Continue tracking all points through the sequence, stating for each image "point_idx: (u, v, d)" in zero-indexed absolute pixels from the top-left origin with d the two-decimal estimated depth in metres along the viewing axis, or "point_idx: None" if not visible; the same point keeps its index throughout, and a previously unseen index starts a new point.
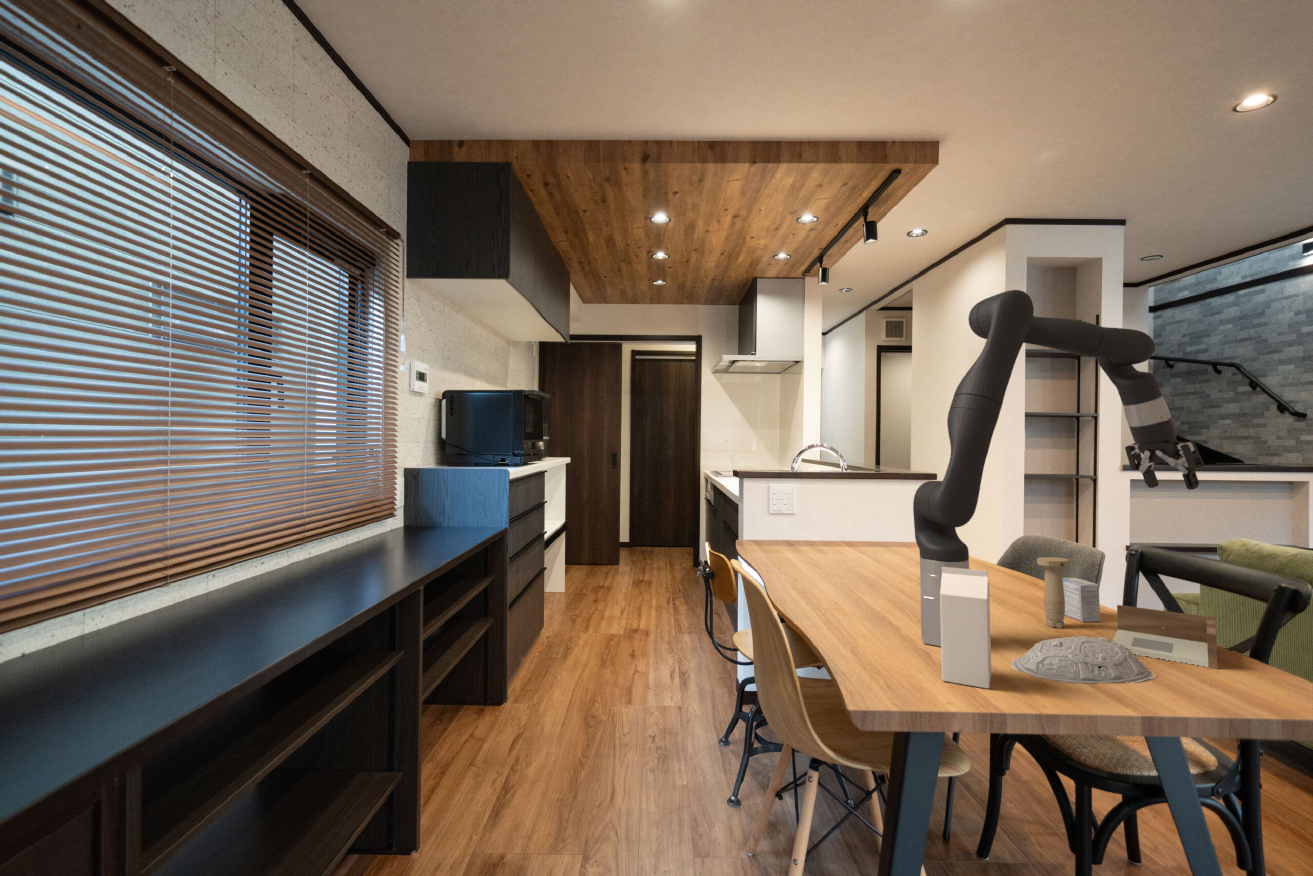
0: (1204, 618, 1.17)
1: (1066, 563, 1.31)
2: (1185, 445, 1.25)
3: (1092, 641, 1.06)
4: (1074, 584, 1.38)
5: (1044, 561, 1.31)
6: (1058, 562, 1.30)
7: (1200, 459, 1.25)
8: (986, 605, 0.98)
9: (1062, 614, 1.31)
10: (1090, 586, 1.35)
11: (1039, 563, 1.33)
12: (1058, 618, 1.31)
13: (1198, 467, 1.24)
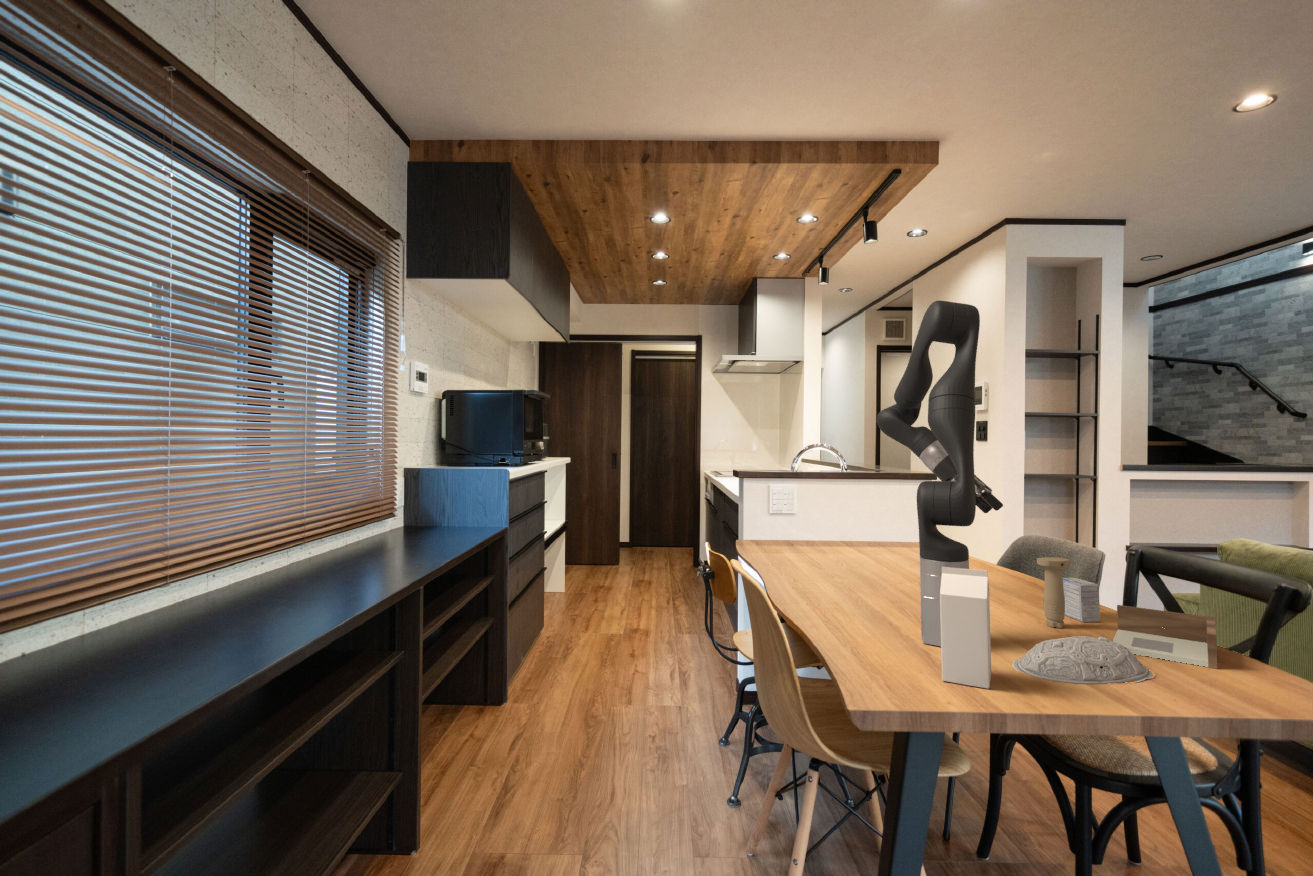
0: (1204, 618, 1.17)
1: (1066, 563, 1.31)
2: None
3: (1092, 641, 1.06)
4: (1074, 584, 1.38)
5: (1044, 561, 1.31)
6: (1058, 562, 1.30)
7: None
8: (986, 605, 0.98)
9: (1062, 614, 1.31)
10: (1090, 586, 1.35)
11: (1039, 563, 1.33)
12: (1058, 618, 1.31)
13: None
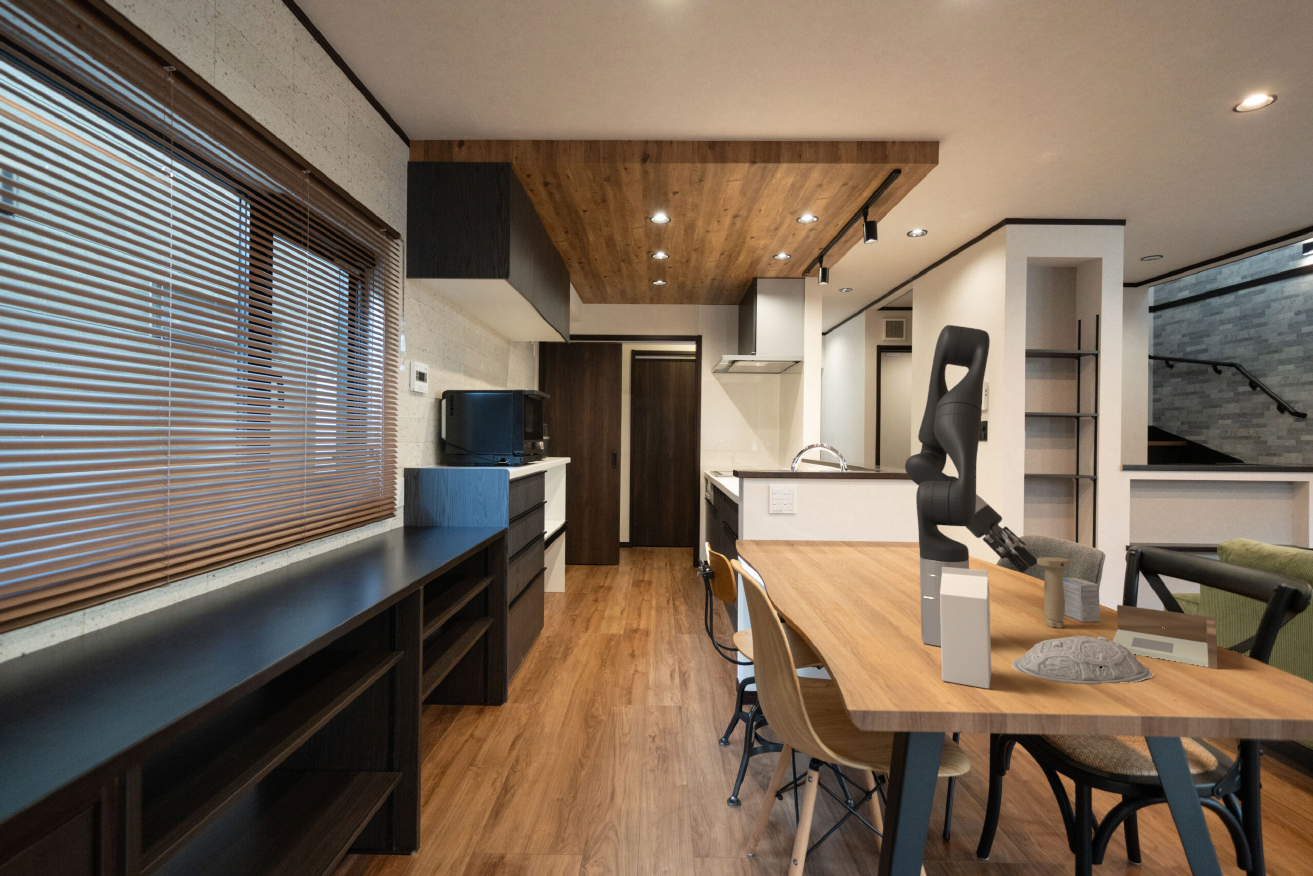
0: (1204, 618, 1.17)
1: (1066, 563, 1.31)
2: None
3: (1092, 641, 1.06)
4: (1074, 584, 1.38)
5: (1044, 561, 1.31)
6: (1058, 562, 1.30)
7: None
8: (986, 605, 0.98)
9: (1062, 614, 1.31)
10: (1090, 586, 1.35)
11: (1039, 563, 1.33)
12: (1058, 618, 1.31)
13: None
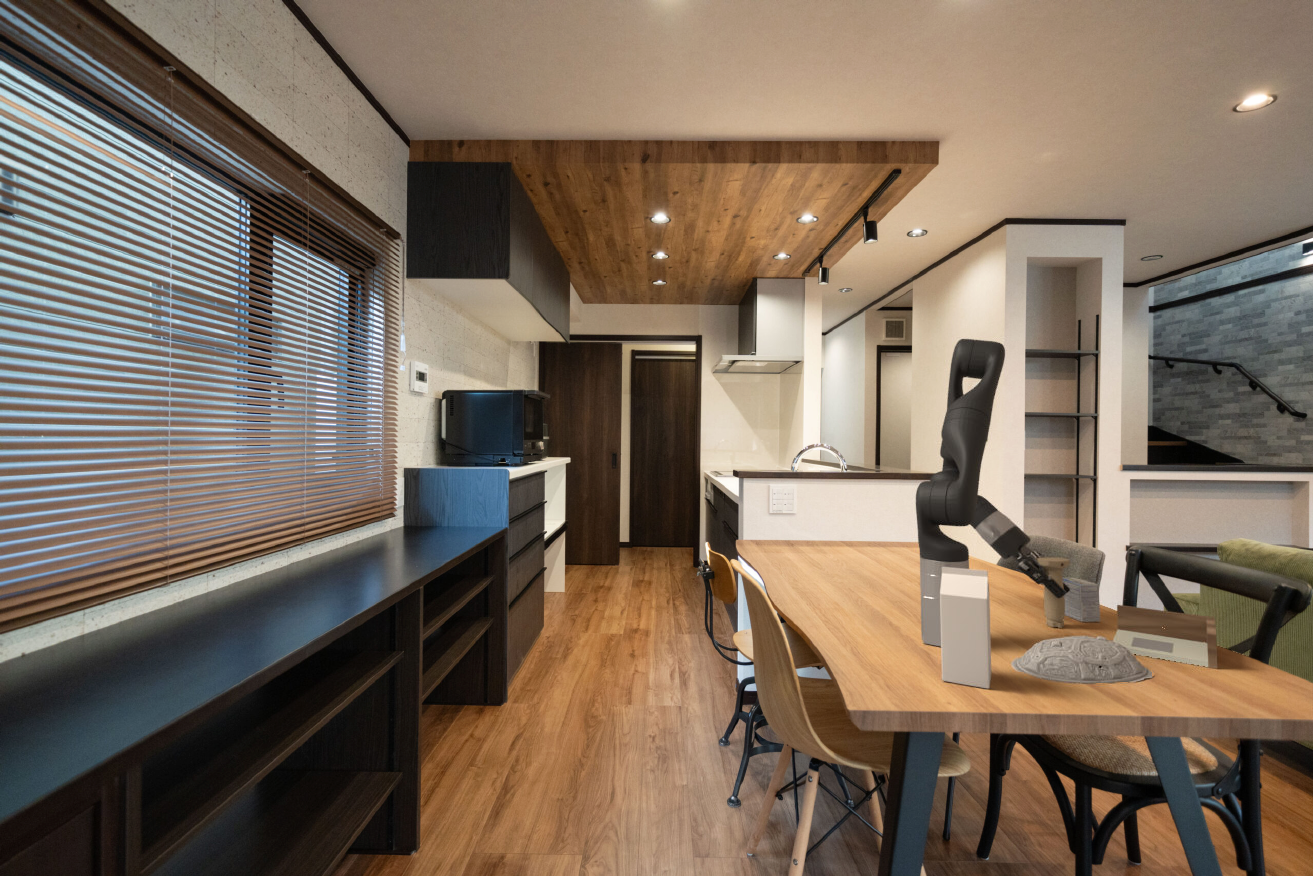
0: (1204, 618, 1.17)
1: (1066, 563, 1.31)
2: None
3: (1091, 640, 1.06)
4: (1074, 584, 1.38)
5: (1044, 561, 1.31)
6: (1058, 562, 1.30)
7: None
8: (986, 605, 0.98)
9: (1062, 614, 1.31)
10: (1090, 586, 1.35)
11: (1039, 563, 1.33)
12: (1058, 618, 1.31)
13: None
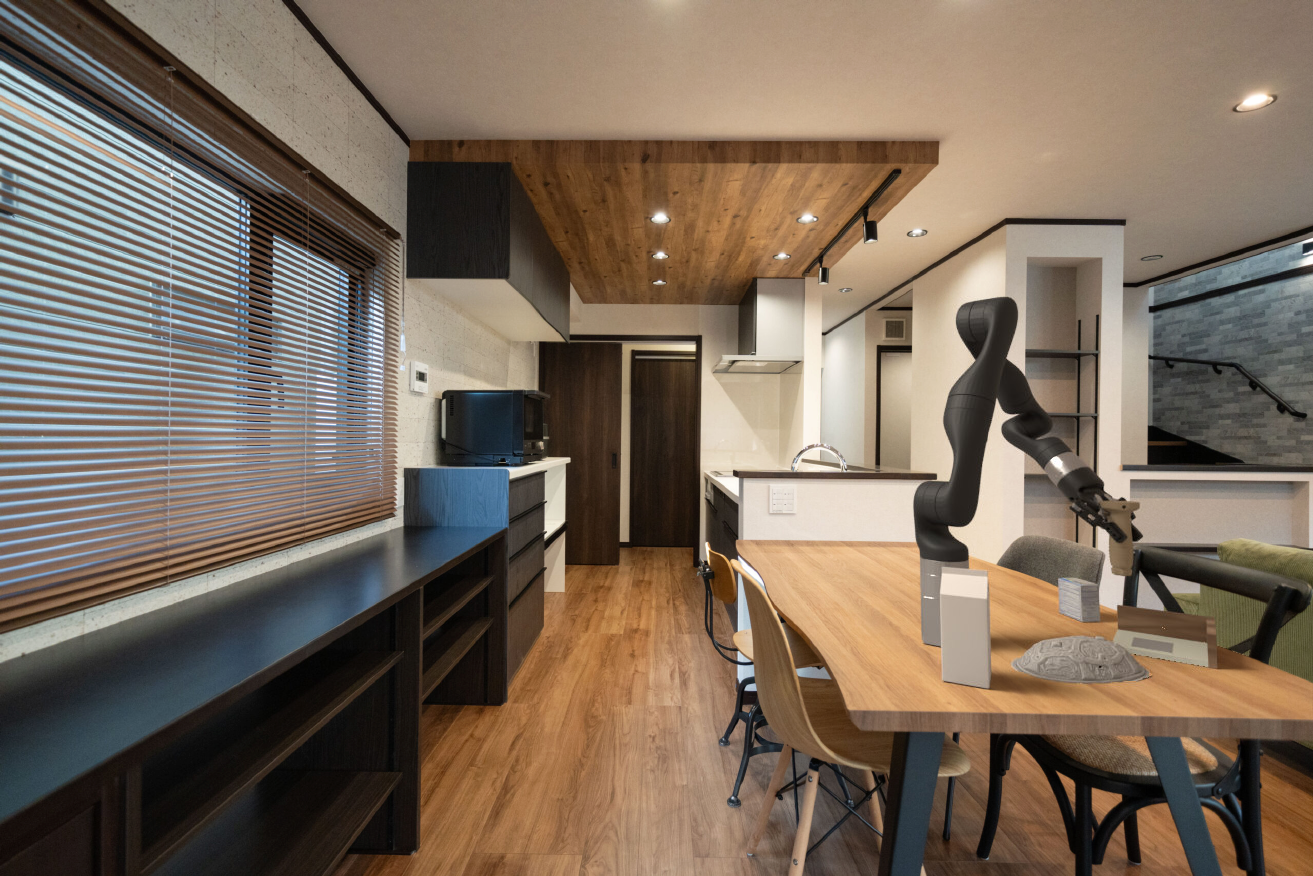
0: (1204, 618, 1.17)
1: (1131, 506, 1.19)
2: None
3: (1090, 640, 1.06)
4: (1074, 584, 1.38)
5: (1103, 503, 1.22)
6: (1118, 504, 1.20)
7: None
8: (986, 605, 0.98)
9: (1126, 561, 1.20)
10: (1090, 586, 1.35)
11: (1100, 505, 1.23)
12: (1120, 565, 1.20)
13: None
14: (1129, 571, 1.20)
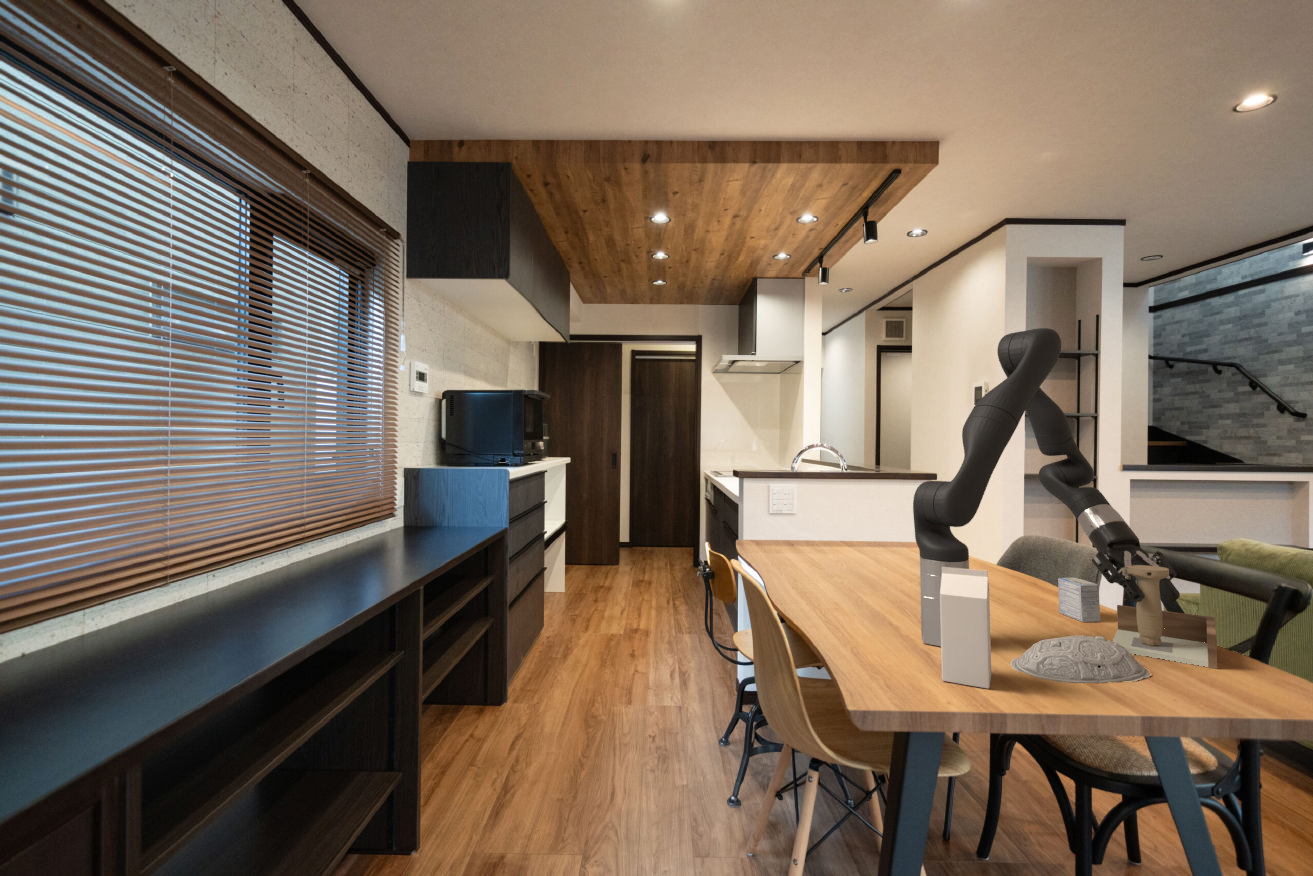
0: (1204, 618, 1.17)
1: (1157, 573, 1.14)
2: None
3: (1090, 640, 1.06)
4: (1074, 584, 1.38)
5: (1128, 568, 1.17)
6: (1143, 570, 1.15)
7: None
8: (986, 605, 0.98)
9: (1153, 630, 1.15)
10: (1090, 586, 1.35)
11: (1127, 570, 1.19)
12: (1147, 634, 1.15)
13: None
14: (1157, 641, 1.15)
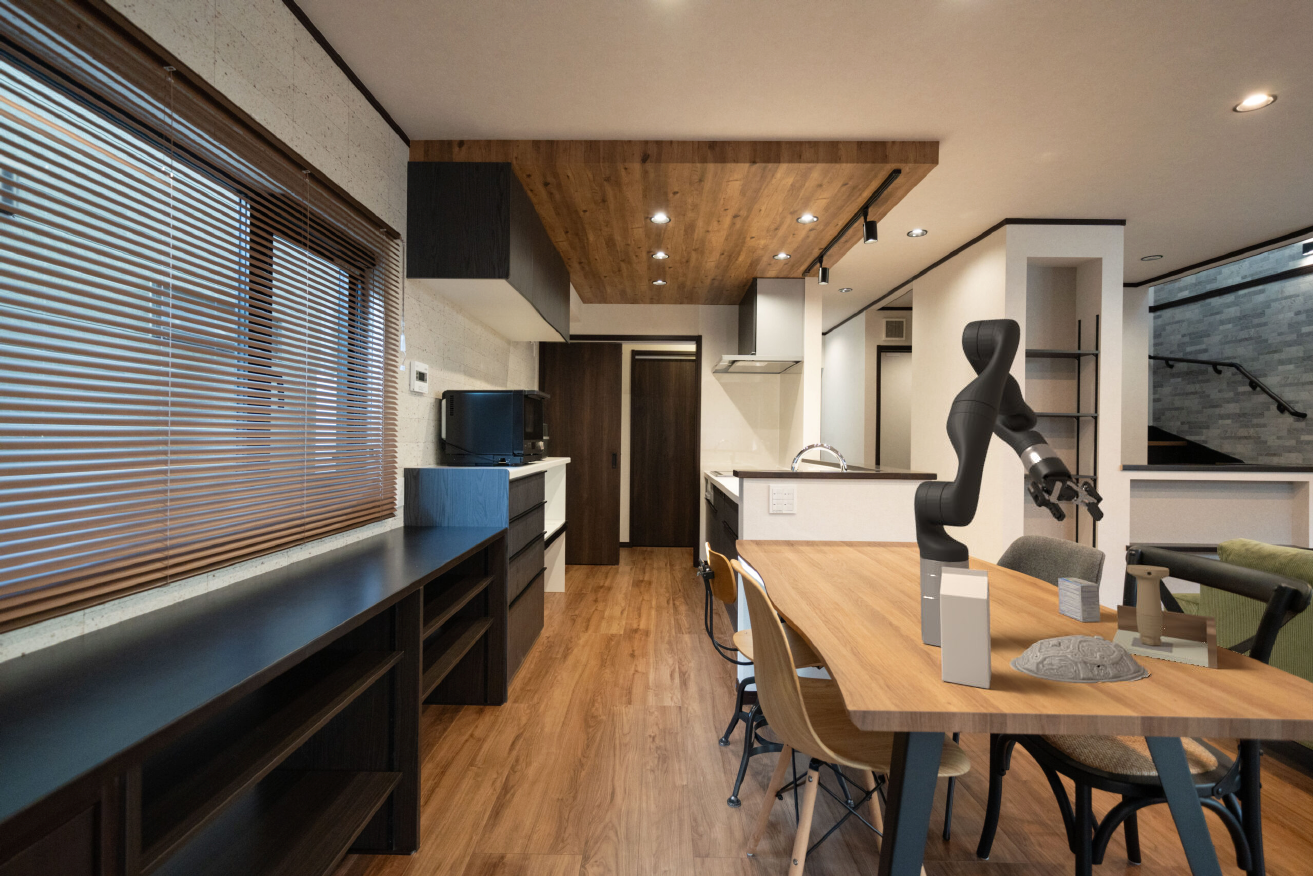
0: (1204, 618, 1.17)
1: (1157, 573, 1.14)
2: None
3: (1089, 640, 1.06)
4: (1074, 584, 1.38)
5: (1128, 567, 1.18)
6: (1143, 570, 1.15)
7: None
8: (986, 605, 0.98)
9: (1153, 630, 1.15)
10: (1090, 586, 1.35)
11: (1127, 570, 1.19)
12: (1147, 634, 1.15)
13: None
14: (1157, 641, 1.15)
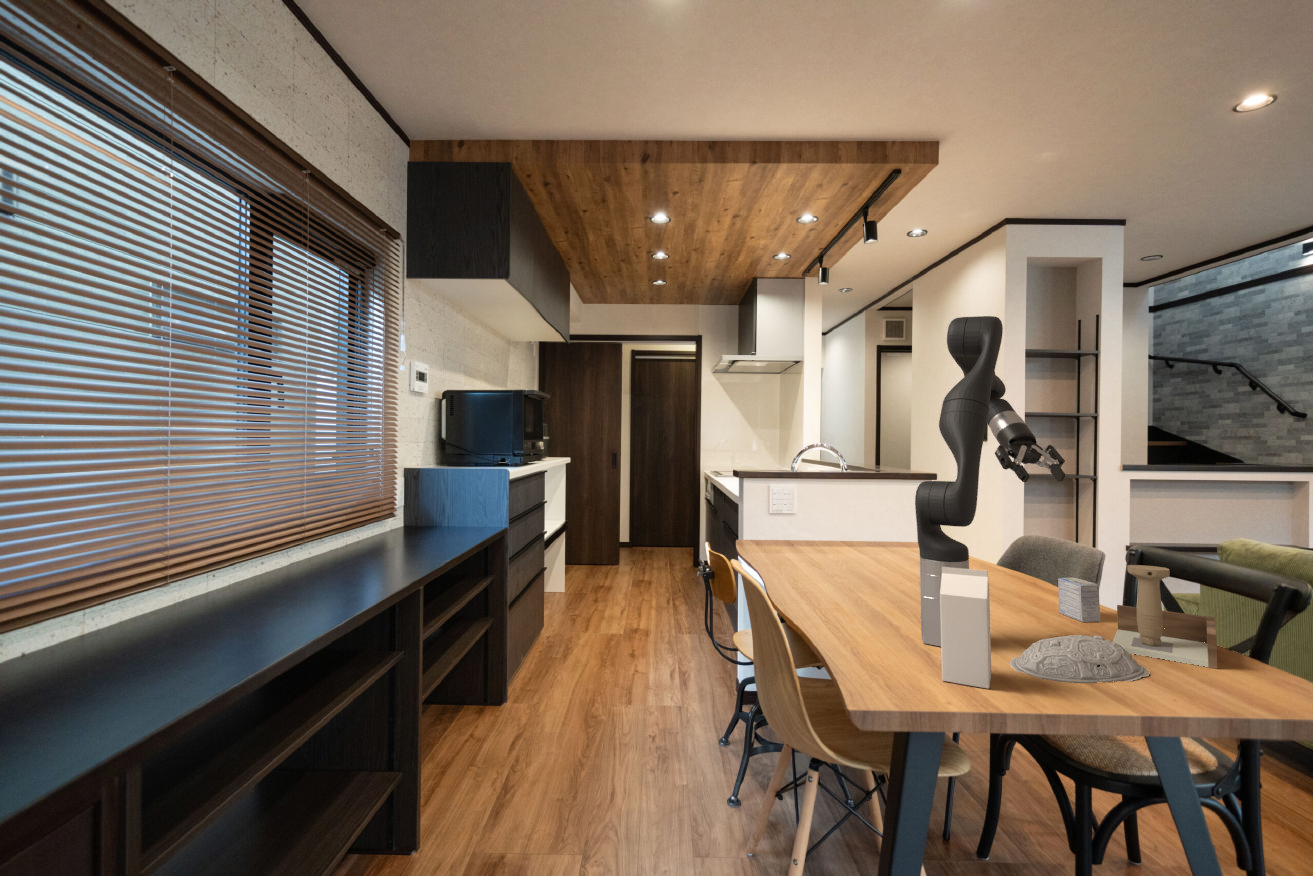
0: (1204, 618, 1.17)
1: (1158, 573, 1.14)
2: None
3: (1088, 640, 1.06)
4: (1074, 584, 1.38)
5: (1128, 567, 1.18)
6: (1143, 570, 1.15)
7: None
8: (986, 605, 0.98)
9: (1153, 630, 1.15)
10: (1090, 586, 1.35)
11: None
12: (1147, 634, 1.15)
13: None
14: (1157, 641, 1.15)
